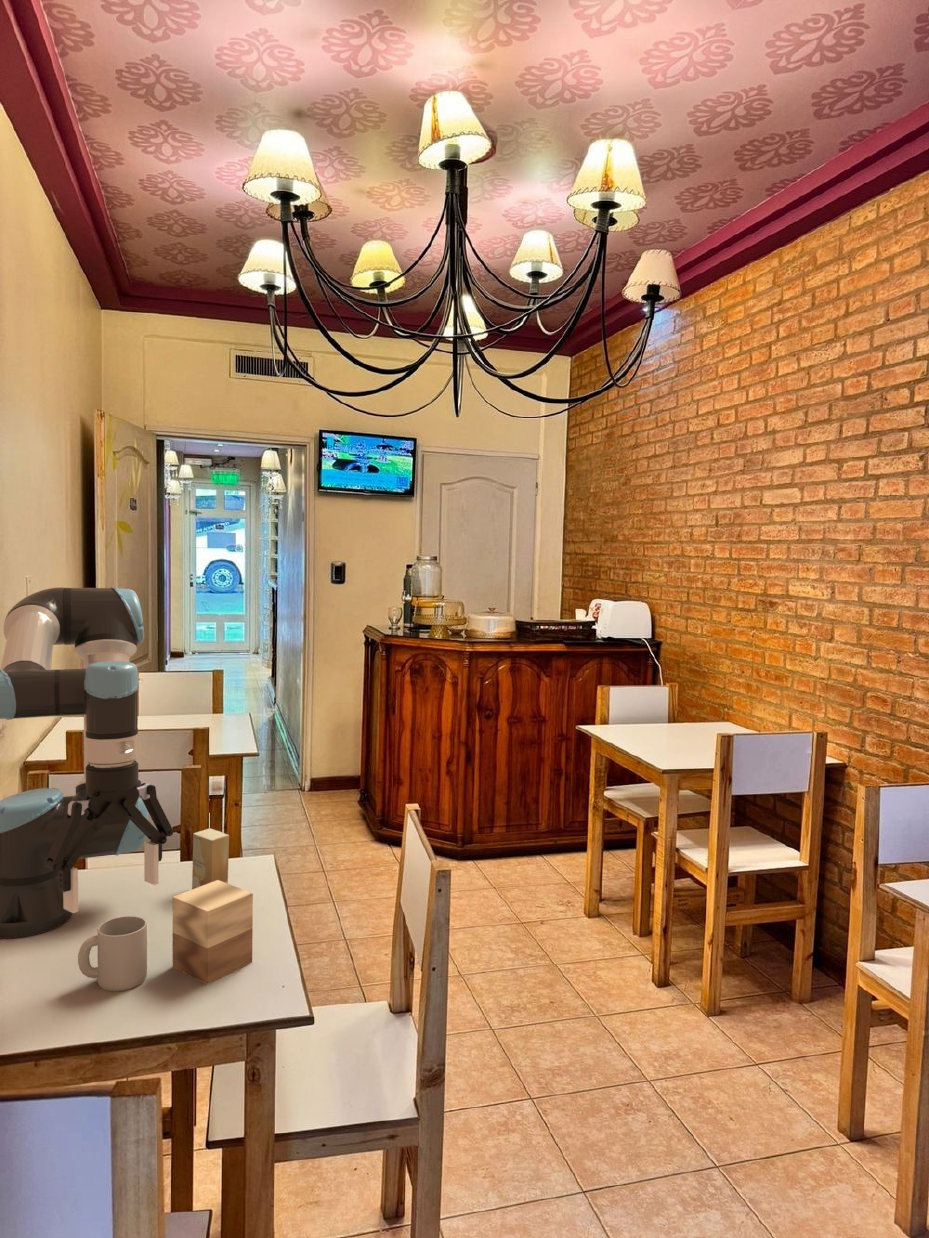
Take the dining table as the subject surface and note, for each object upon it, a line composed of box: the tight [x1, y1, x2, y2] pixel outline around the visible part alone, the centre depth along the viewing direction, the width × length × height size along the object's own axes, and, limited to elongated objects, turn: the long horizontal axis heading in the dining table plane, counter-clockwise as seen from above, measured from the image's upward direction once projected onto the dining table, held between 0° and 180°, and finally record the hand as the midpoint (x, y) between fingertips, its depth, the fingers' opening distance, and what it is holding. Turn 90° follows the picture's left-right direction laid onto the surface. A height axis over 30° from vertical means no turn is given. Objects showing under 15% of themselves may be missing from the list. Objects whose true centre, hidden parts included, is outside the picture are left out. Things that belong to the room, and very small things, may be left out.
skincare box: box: [191, 827, 230, 890], centre depth 162 cm, size 6×4×12 cm
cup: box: [77, 915, 148, 992], centre depth 127 cm, size 7×10×9 cm
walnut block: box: [172, 927, 254, 985], centre depth 134 cm, size 9×9×6 cm
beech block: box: [172, 880, 254, 948], centre depth 133 cm, size 9×9×6 cm
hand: (112, 895), depth 126 cm, fingers open, 13 cm apart
